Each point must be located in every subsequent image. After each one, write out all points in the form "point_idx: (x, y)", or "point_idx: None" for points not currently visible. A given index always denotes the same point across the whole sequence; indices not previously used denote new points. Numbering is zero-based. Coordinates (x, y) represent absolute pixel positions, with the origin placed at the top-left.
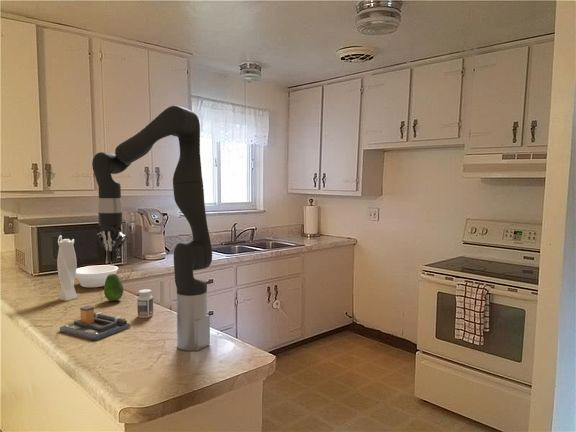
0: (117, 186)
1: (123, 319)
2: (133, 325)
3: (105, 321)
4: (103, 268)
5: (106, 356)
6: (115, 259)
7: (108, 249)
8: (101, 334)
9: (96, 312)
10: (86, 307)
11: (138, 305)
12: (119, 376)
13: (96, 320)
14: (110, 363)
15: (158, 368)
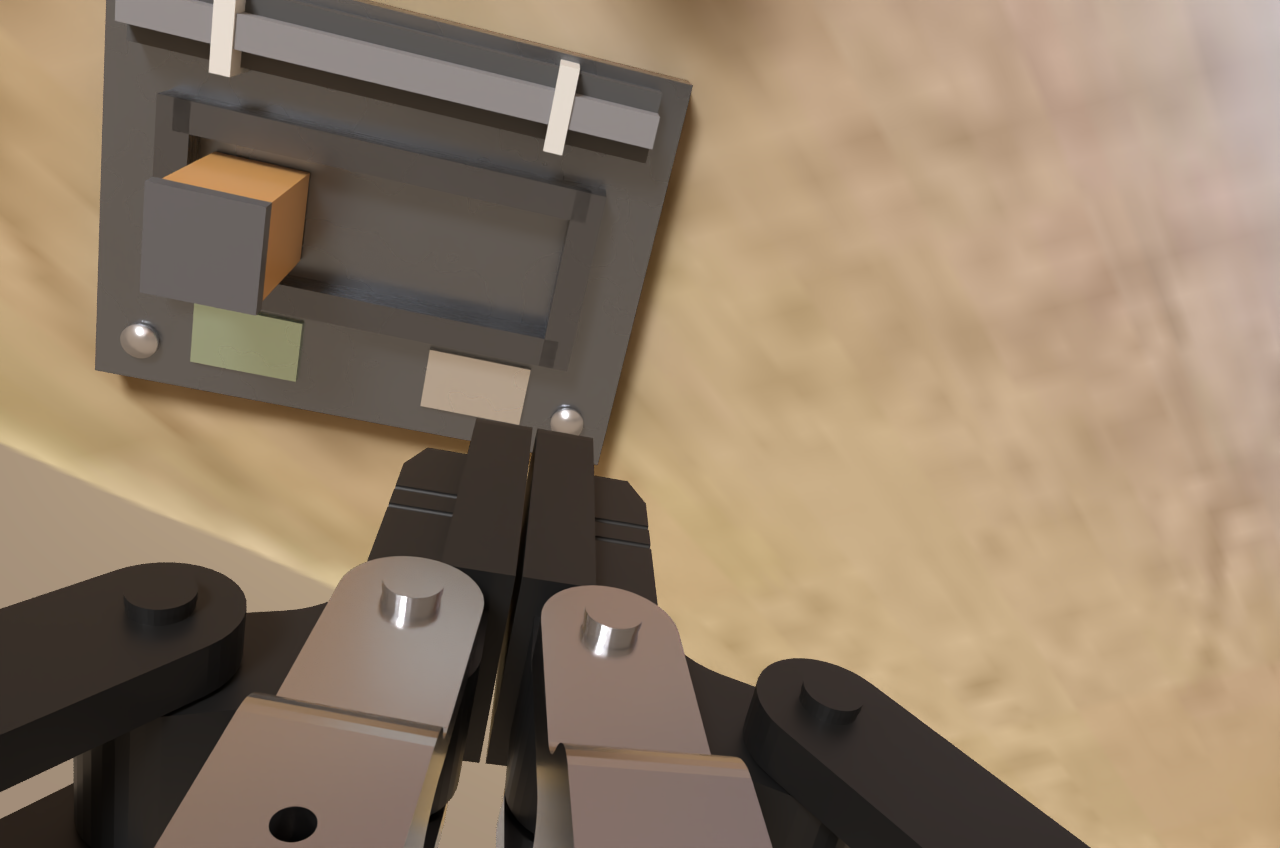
0: None
1: (653, 143)
2: (685, 6)
3: (465, 195)
4: None
5: (859, 632)
6: (625, 501)
7: (445, 793)
8: (611, 406)
9: (160, 2)
10: (188, 246)
11: None
12: (1076, 793)
13: (321, 160)
14: (942, 697)
15: (1260, 674)
